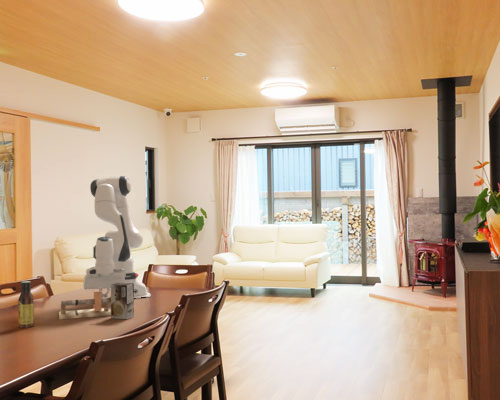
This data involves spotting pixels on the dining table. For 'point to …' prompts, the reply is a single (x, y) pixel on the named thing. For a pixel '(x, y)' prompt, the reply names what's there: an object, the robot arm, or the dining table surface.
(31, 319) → the sauce bottle
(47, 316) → the dining table surface
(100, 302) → the bridge block
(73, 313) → the pipe stand
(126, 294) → the coffee box
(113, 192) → the robot arm
